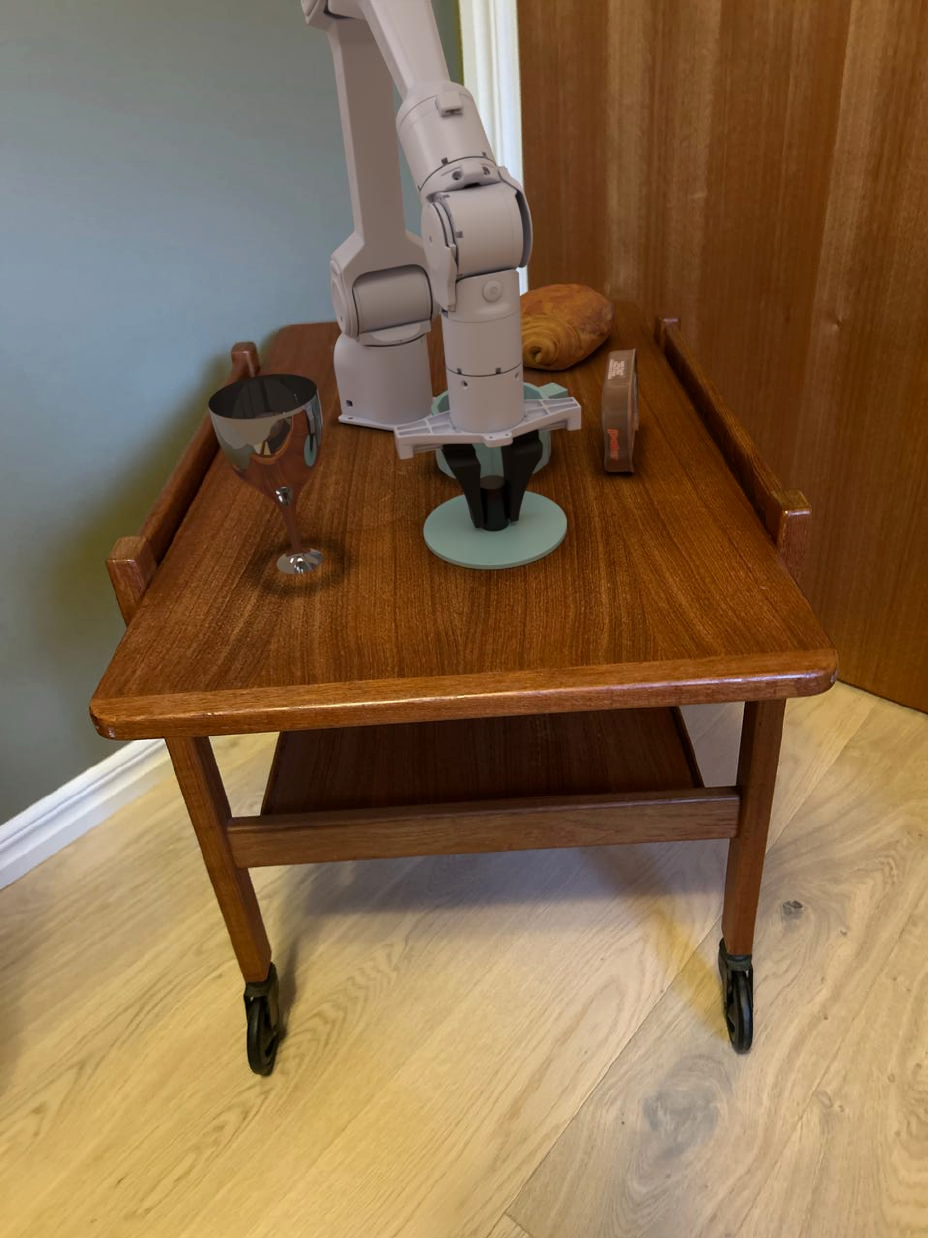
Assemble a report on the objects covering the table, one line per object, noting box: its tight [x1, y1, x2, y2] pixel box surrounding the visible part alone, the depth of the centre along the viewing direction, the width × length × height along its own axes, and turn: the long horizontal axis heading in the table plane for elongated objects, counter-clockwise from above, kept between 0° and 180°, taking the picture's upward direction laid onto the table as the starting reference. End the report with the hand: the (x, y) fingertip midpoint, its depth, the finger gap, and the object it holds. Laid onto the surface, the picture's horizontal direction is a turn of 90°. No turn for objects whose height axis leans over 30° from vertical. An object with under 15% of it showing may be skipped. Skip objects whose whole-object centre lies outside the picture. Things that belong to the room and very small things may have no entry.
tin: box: [600, 348, 640, 474], centre depth 85 cm, size 15×3×8 cm, turn 168°
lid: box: [422, 475, 568, 570], centre depth 75 cm, size 12×12×5 cm
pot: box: [431, 381, 569, 480], centre depth 86 cm, size 11×16×6 cm
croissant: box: [520, 283, 617, 372], centre depth 107 cm, size 14×16×8 cm
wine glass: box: [207, 373, 324, 575], centre depth 71 cm, size 8×8×15 cm
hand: (494, 518), depth 76 cm, fingers closed on lid, 2 cm apart
